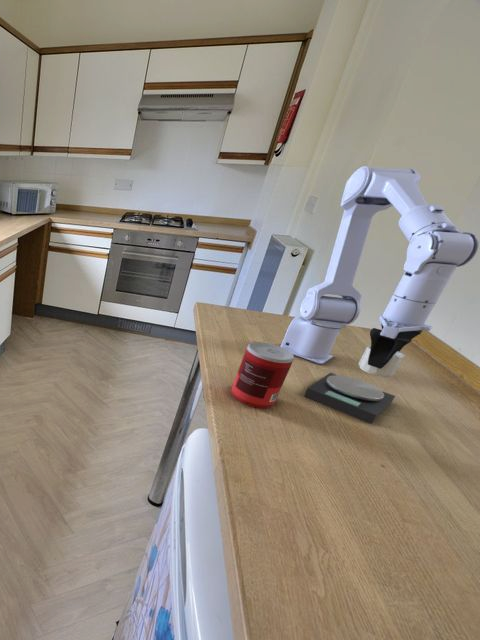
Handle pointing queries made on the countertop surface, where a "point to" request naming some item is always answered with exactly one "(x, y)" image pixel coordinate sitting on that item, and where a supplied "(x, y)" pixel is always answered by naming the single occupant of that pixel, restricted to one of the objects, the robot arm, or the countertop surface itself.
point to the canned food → (261, 374)
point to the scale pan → (355, 388)
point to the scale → (347, 401)
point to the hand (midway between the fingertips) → (379, 362)
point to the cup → (386, 370)
